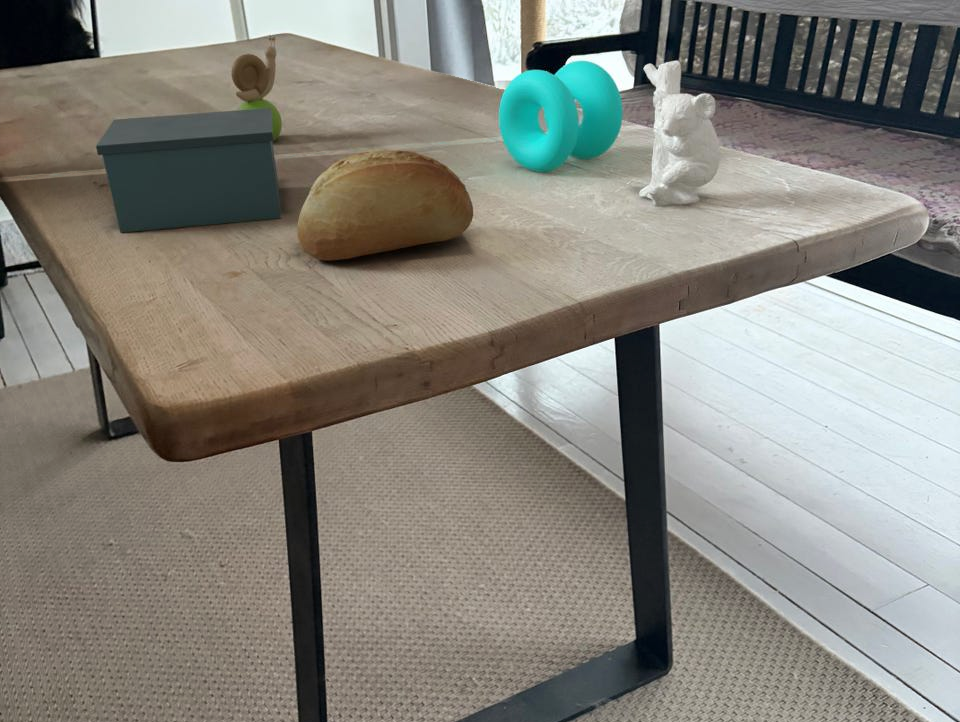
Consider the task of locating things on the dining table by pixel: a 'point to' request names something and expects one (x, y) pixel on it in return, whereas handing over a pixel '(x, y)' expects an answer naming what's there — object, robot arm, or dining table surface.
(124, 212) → the container
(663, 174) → the koala figurine
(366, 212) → the bread roll
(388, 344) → the dining table surface
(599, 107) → the donuts
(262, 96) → the snail figurine
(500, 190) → the dining table surface
